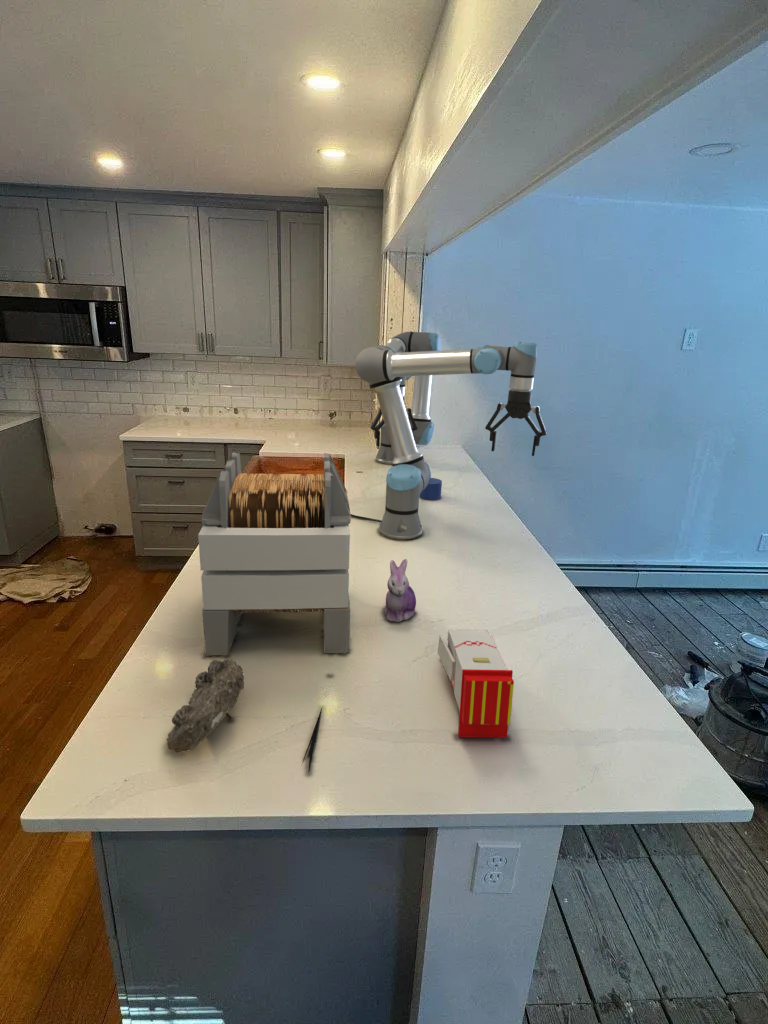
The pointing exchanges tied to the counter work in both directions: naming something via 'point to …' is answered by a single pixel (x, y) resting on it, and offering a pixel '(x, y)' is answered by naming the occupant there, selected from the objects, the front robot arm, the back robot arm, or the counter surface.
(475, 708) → the toy
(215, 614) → the transformer
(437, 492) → the canister
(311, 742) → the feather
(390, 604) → the figurine
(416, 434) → the back robot arm
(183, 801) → the counter surface
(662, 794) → the counter surface
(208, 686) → the fossil
